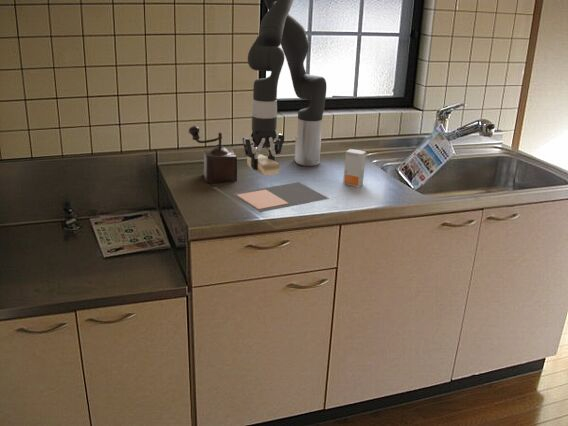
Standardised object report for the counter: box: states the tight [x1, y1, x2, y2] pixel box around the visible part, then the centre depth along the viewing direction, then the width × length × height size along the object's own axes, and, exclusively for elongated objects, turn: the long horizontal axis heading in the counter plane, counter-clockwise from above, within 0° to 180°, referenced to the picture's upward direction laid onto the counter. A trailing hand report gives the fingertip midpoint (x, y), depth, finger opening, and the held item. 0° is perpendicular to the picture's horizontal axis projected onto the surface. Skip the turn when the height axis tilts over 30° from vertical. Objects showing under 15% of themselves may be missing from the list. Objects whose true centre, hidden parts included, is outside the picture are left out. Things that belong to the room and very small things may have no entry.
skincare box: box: [342, 148, 367, 188], centre depth 209 cm, size 6×4×12 cm
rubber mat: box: [232, 181, 330, 213], centre depth 196 cm, size 18×26×1 cm
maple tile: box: [246, 153, 280, 176], centre depth 188 cm, size 11×5×3 cm, turn 33°
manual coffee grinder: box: [188, 125, 238, 185], centre depth 208 cm, size 16×11×18 cm
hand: (262, 168), depth 188 cm, fingers closed on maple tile, 5 cm apart
